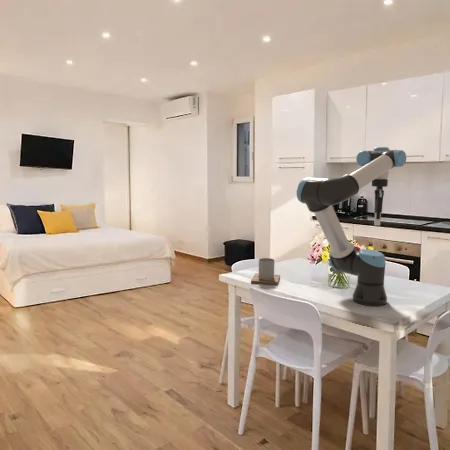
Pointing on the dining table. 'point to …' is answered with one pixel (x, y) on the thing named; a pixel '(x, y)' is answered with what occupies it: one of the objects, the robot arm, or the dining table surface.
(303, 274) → the dining table surface
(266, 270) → the cup
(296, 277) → the dining table surface
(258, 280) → the walnut board
